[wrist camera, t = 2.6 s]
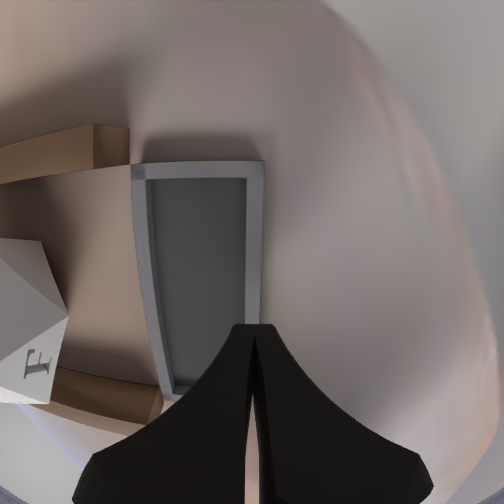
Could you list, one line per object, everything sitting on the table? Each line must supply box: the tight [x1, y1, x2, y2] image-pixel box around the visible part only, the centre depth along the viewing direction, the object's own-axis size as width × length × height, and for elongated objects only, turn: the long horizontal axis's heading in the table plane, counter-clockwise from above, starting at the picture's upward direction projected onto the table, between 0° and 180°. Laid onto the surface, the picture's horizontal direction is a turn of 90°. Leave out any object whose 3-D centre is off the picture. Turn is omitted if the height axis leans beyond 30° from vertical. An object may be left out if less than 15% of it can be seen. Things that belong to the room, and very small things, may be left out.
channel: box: [0, 124, 164, 436], centre depth 11 cm, size 15×13×3 cm
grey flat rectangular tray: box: [130, 160, 264, 406], centre depth 12 cm, size 12×5×1 cm, turn 179°
